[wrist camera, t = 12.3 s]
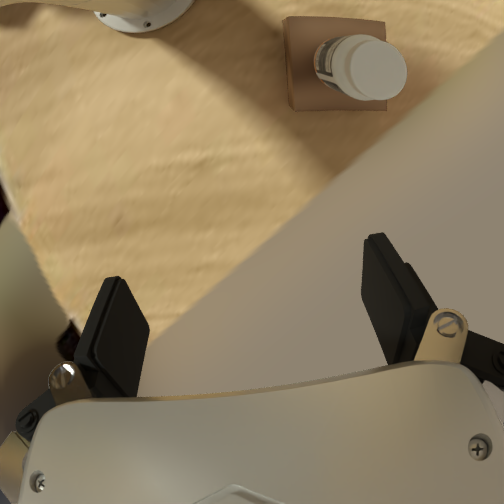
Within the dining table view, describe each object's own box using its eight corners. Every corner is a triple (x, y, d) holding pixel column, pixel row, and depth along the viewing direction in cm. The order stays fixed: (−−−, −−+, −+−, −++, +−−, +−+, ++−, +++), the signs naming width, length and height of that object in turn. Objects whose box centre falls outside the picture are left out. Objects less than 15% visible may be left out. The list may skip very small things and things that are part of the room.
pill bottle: (376, 72, 27) (426, 84, 19) (333, 100, 29) (371, 121, 21) (344, 27, 25) (388, 20, 16) (299, 56, 27) (327, 58, 18)
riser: (282, 20, 27) (288, 16, 24) (370, 24, 27) (385, 22, 24) (289, 105, 33) (295, 111, 30) (372, 104, 33) (386, 110, 30)
